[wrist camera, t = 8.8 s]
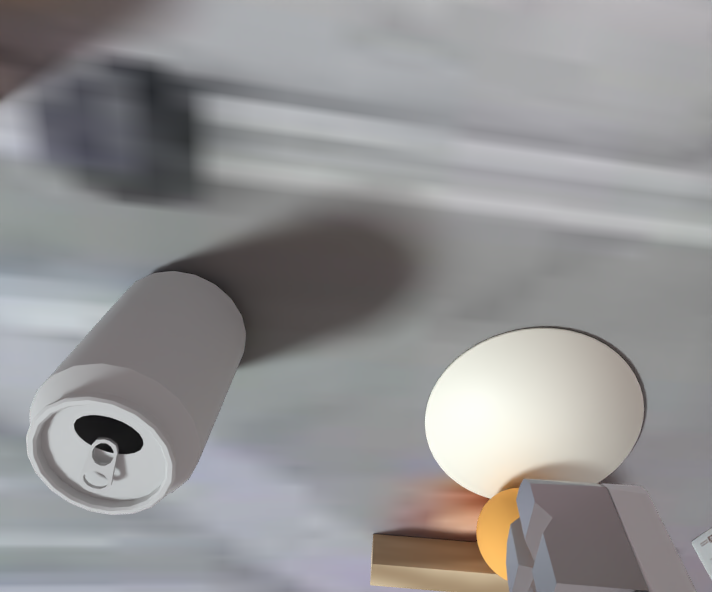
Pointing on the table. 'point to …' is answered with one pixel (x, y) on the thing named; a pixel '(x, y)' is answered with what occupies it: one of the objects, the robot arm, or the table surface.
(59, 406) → the can
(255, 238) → the table surface
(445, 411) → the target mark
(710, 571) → the supplement box
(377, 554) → the rail
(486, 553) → the ball
